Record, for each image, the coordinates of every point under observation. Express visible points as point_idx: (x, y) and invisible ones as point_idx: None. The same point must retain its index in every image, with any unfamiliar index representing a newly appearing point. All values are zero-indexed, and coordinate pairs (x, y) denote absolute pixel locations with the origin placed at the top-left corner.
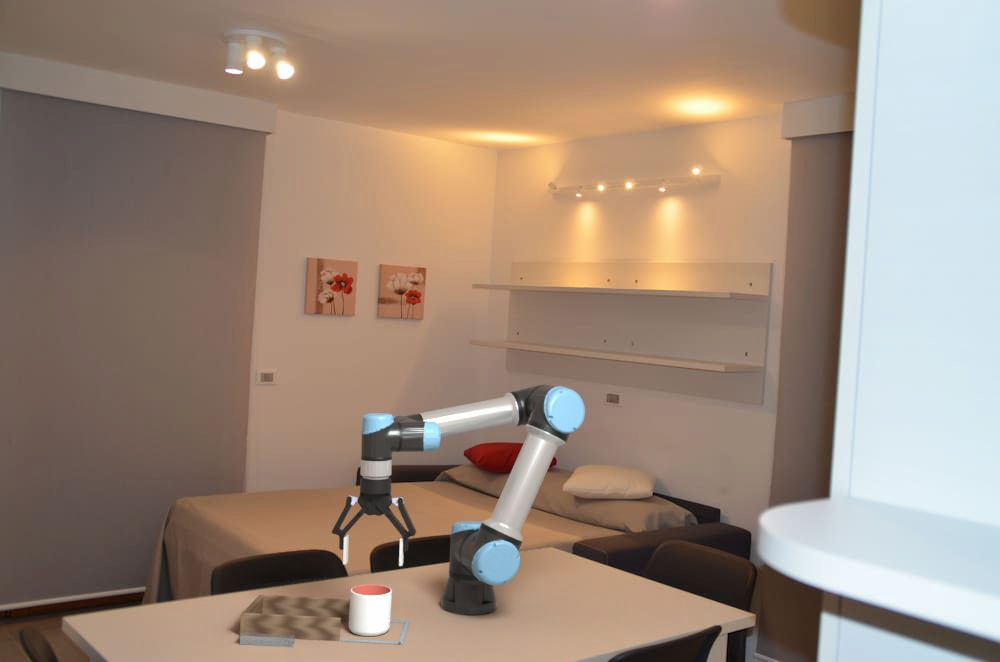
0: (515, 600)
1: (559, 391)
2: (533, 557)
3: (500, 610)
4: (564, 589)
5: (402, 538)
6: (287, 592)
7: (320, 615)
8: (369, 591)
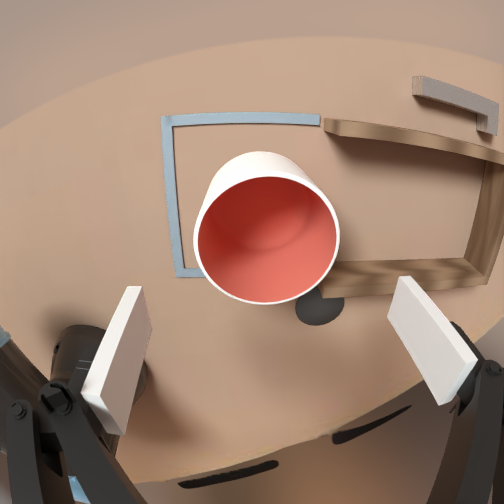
0: None
1: None
2: None
3: None
4: None
5: (91, 404)
6: (412, 369)
7: (377, 264)
8: (277, 287)
